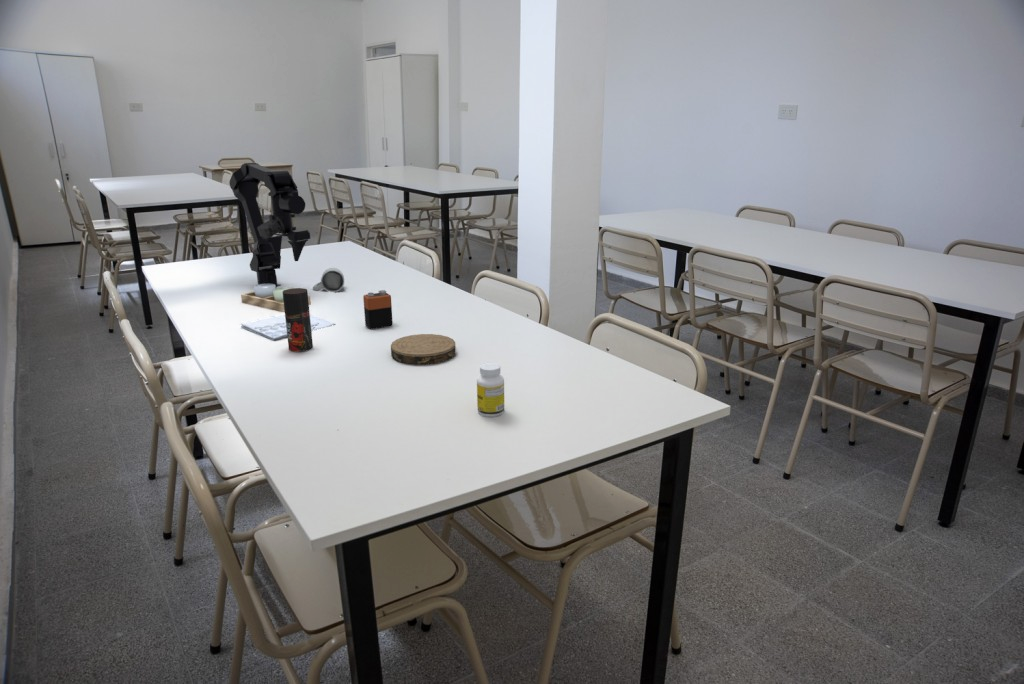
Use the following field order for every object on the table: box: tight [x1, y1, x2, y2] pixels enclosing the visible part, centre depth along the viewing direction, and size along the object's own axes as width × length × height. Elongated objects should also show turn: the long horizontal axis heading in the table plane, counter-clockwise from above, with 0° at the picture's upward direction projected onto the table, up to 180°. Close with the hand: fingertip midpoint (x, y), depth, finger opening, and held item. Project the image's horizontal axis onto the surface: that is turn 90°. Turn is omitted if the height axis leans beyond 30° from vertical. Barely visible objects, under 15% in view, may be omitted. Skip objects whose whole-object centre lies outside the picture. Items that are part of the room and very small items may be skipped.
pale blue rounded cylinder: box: [253, 283, 277, 298], centre depth 211 cm, size 6×6×5 cm
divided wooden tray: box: [240, 291, 312, 313], centre depth 209 cm, size 20×10×3 cm, turn 56°
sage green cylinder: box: [273, 286, 294, 303], centre depth 206 cm, size 6×6×5 cm
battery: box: [362, 289, 394, 330], centre depth 186 cm, size 4×7×10 cm, turn 121°
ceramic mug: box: [312, 267, 345, 293], centre depth 226 cm, size 11×8×8 cm
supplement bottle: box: [476, 362, 505, 418], centre depth 131 cm, size 5×5×10 cm
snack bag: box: [240, 314, 336, 341], centre depth 188 cm, size 19×20×2 cm
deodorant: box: [283, 287, 314, 353], centre depth 167 cm, size 6×6×15 cm
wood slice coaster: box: [390, 333, 457, 366], centre depth 165 cm, size 16×16×3 cm
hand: (287, 259), depth 217 cm, fingers open, 9 cm apart
